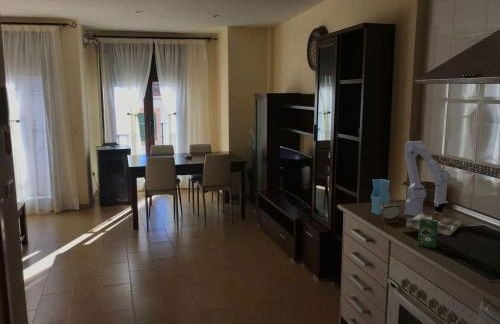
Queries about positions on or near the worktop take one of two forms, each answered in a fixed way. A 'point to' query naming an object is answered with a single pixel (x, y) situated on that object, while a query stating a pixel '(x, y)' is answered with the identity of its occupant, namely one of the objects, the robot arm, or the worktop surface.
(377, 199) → the vase
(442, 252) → the worktop surface
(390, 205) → the food container
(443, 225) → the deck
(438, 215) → the block
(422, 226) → the coffee box
